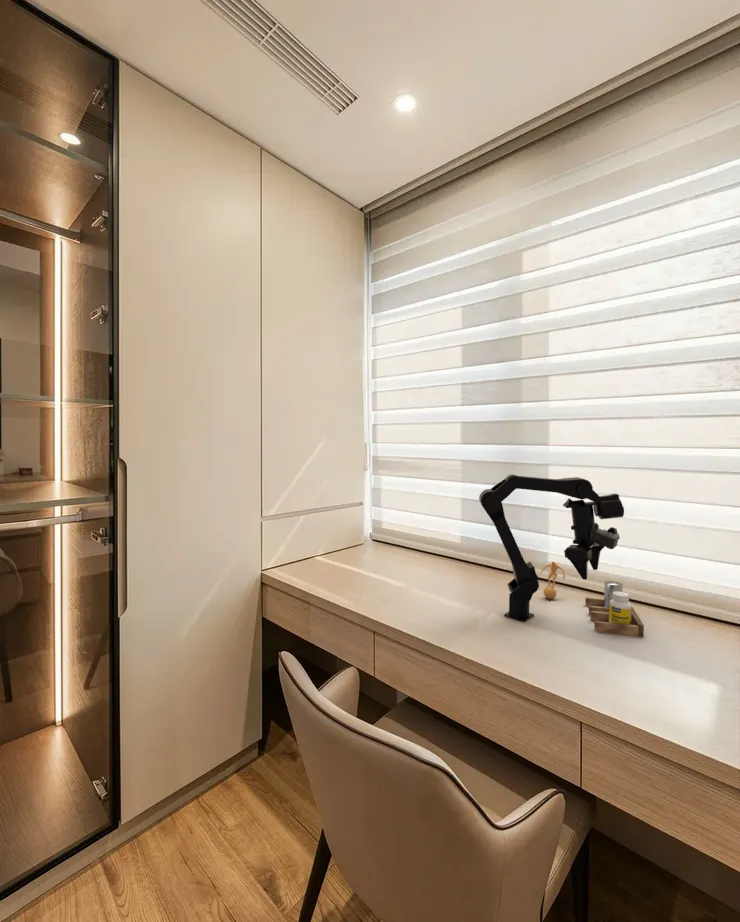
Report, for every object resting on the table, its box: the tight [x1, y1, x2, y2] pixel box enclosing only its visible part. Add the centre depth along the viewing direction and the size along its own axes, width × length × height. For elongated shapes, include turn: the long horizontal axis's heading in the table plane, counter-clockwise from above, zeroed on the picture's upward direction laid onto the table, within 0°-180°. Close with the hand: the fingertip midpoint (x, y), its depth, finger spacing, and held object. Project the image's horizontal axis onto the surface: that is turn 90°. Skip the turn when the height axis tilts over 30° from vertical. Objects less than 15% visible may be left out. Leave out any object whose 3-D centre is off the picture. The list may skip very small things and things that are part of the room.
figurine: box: [540, 561, 566, 600], centre depth 153 cm, size 8×6×12 cm
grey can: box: [603, 580, 623, 608], centre depth 141 cm, size 5×5×9 cm
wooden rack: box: [585, 596, 645, 638], centre depth 135 cm, size 12×21×3 cm, turn 162°
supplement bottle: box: [609, 591, 633, 625], centre depth 129 cm, size 5×5×10 cm
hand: (590, 574), depth 134 cm, fingers open, 9 cm apart
